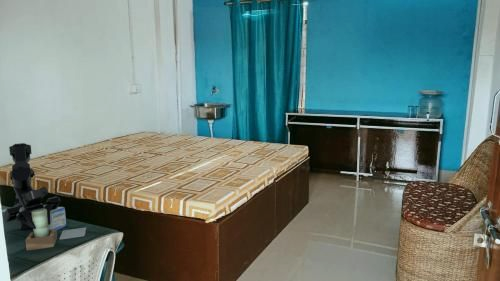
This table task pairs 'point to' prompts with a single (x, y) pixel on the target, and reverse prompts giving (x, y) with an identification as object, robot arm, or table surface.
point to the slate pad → (73, 233)
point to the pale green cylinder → (40, 223)
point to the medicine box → (57, 218)
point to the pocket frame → (41, 240)
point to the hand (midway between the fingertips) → (42, 226)
